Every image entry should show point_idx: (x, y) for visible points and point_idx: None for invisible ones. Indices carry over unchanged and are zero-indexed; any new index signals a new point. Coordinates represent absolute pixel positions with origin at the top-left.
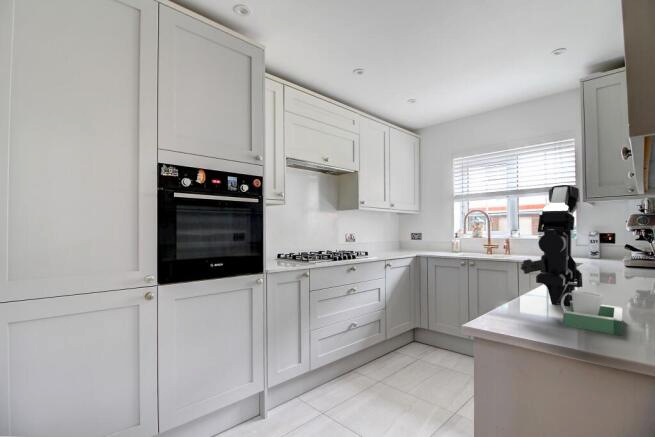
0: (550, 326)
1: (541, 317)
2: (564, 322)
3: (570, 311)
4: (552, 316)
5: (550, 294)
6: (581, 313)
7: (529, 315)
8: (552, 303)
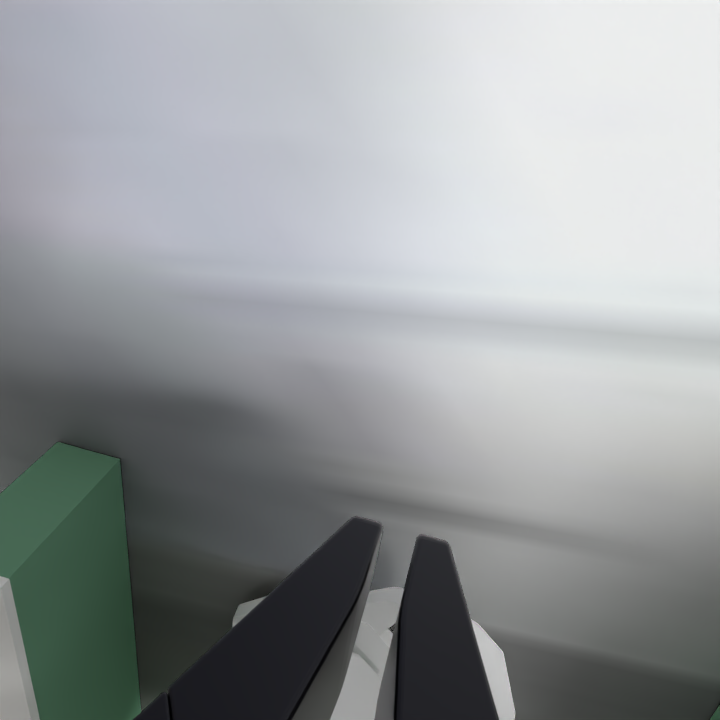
0: None
1: (257, 226)
2: (32, 469)
3: (7, 639)
4: (430, 385)
5: (169, 704)
6: (7, 710)
7: (263, 22)
8: (334, 542)
